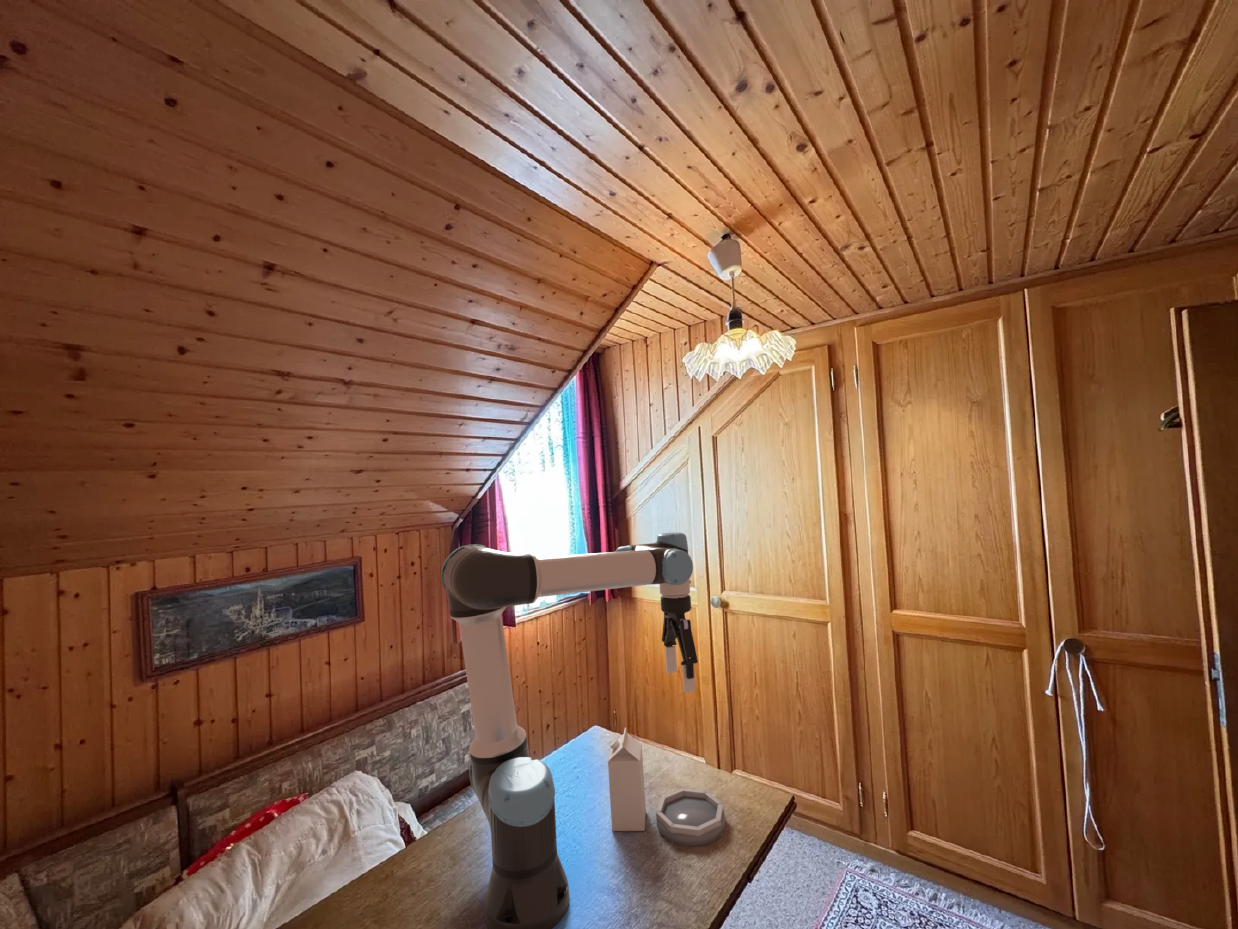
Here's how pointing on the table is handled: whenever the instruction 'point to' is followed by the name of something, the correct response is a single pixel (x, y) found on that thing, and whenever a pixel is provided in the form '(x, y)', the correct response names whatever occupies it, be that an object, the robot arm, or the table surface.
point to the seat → (690, 817)
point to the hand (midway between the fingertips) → (680, 681)
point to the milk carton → (626, 784)
